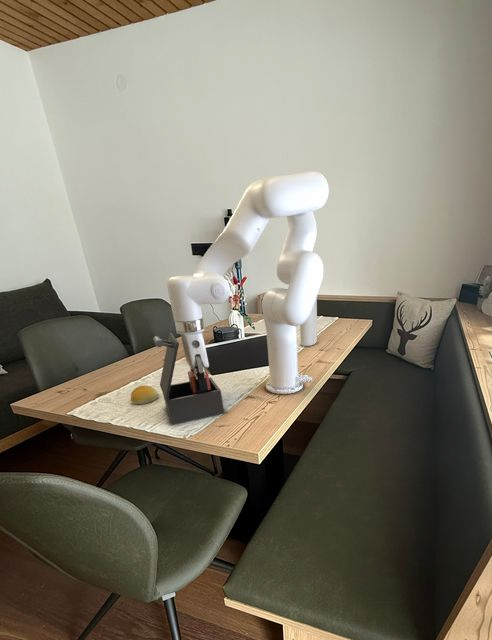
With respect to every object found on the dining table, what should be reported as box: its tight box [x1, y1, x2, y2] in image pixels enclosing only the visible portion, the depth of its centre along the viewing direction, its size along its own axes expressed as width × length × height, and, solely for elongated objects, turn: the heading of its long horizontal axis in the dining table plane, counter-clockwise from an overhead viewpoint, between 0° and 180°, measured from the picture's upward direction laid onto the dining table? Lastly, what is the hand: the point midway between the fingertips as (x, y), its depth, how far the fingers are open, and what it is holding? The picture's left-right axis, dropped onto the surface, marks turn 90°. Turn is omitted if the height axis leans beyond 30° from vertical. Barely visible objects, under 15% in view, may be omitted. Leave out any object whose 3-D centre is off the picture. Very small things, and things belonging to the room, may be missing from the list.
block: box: [187, 368, 211, 393], centre depth 105 cm, size 5×5×5 cm
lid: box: [152, 332, 180, 401], centre depth 98 cm, size 16×12×5 cm
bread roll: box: [130, 385, 159, 405], centre depth 116 cm, size 8×9×4 cm
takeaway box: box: [162, 376, 225, 426], centre depth 107 cm, size 15×12×7 cm
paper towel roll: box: [299, 296, 318, 347], centre depth 159 cm, size 7×6×21 cm
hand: (200, 387), depth 106 cm, fingers closed on block, 5 cm apart
